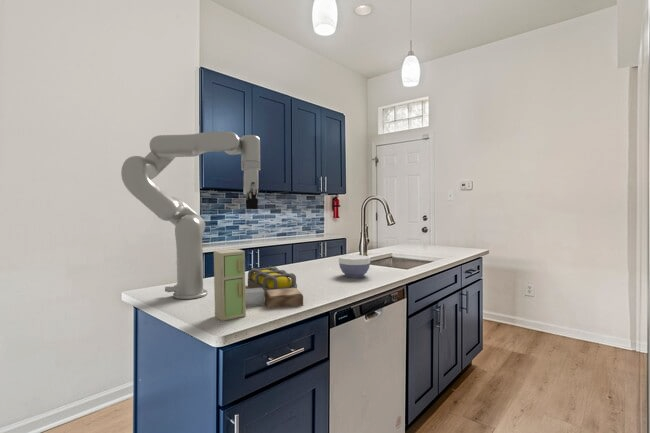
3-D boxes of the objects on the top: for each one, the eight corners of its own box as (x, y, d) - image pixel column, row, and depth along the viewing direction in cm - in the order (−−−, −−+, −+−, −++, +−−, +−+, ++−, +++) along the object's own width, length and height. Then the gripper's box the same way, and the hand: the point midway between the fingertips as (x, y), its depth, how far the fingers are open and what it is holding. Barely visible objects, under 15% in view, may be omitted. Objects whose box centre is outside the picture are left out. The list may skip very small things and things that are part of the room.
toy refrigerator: (222, 322, 105) (221, 253, 104) (214, 316, 111) (213, 250, 110) (246, 317, 110) (246, 251, 109) (238, 311, 115) (237, 248, 115)
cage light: (273, 264, 163) (303, 275, 137) (273, 281, 163) (303, 295, 137) (243, 267, 155) (268, 279, 130) (243, 285, 155) (269, 300, 130)
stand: (269, 308, 119) (269, 296, 119) (265, 300, 129) (265, 290, 129) (303, 305, 123) (303, 293, 123) (296, 298, 132) (296, 287, 132)
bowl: (335, 273, 180) (335, 255, 180) (365, 272, 183) (365, 254, 183) (342, 279, 165) (342, 259, 164) (374, 278, 168) (374, 258, 167)
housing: (234, 308, 120) (234, 294, 120) (232, 303, 126) (232, 289, 126) (266, 305, 124) (266, 291, 123) (263, 300, 130) (262, 287, 130)
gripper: (239, 168, 147) (240, 209, 147) (243, 163, 130) (244, 209, 131) (257, 169, 149) (257, 208, 150) (263, 164, 133) (264, 209, 133)
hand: (251, 209), depth 140 cm, fingers open, 9 cm apart
